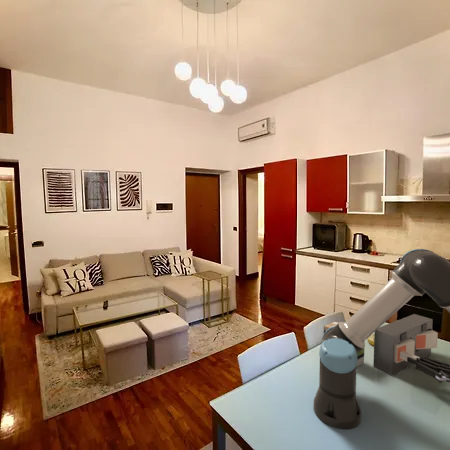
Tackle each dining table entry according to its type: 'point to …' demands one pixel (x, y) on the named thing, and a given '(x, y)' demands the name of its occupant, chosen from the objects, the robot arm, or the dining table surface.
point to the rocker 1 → (403, 349)
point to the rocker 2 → (426, 340)
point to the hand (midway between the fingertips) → (401, 354)
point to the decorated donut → (371, 339)
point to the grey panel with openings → (394, 335)
